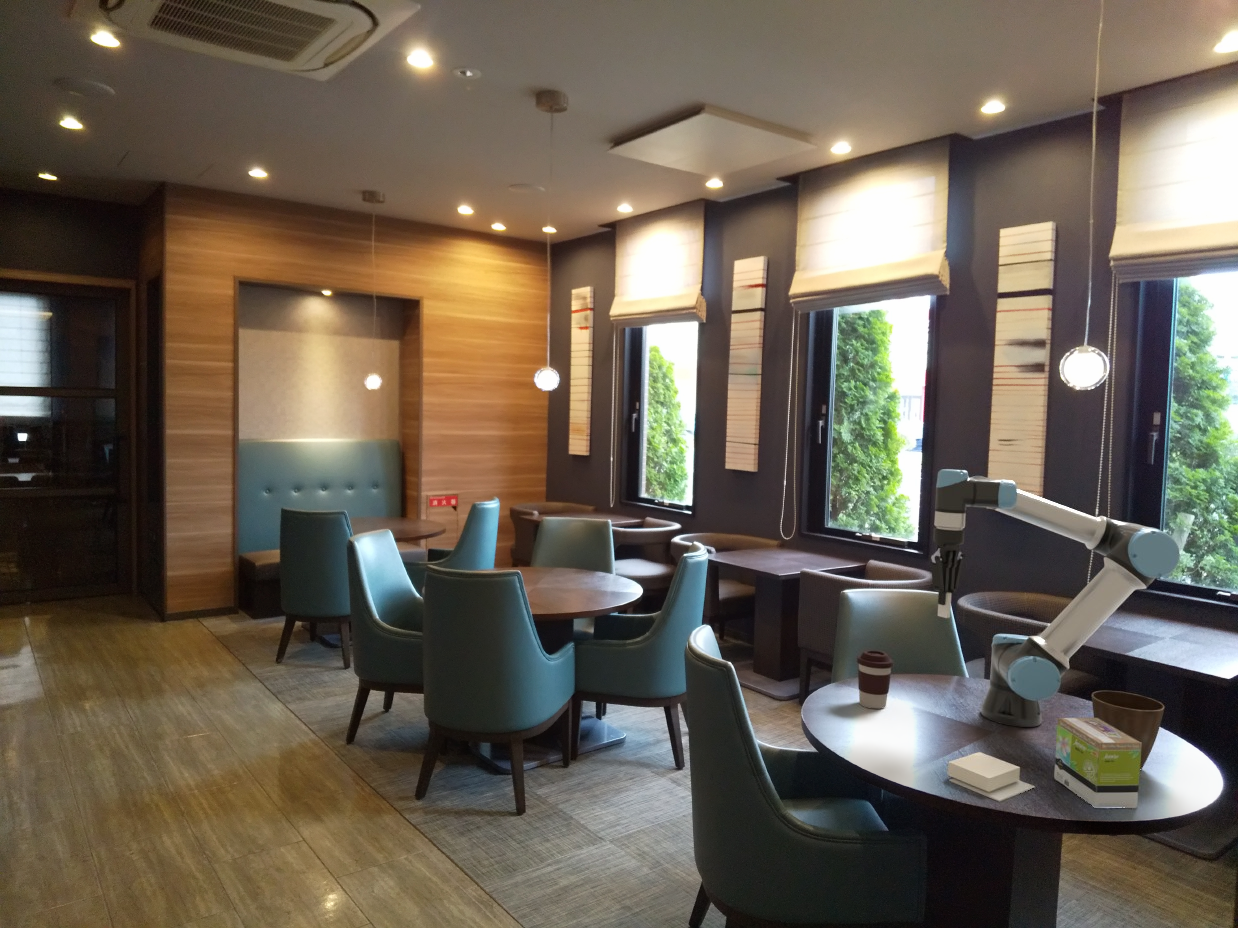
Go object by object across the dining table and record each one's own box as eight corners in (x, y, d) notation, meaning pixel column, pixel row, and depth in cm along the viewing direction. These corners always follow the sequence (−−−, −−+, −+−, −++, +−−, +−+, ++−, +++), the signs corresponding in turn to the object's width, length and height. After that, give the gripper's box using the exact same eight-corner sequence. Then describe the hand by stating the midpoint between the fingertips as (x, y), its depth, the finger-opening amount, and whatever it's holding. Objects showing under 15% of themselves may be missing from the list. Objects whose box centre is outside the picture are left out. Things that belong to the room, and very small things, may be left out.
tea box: (1051, 779, 193) (1056, 715, 192) (1093, 779, 194) (1098, 716, 193) (1094, 809, 178) (1099, 740, 177) (1139, 809, 179) (1144, 741, 178)
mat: (985, 768, 197) (985, 766, 197) (1035, 787, 188) (1035, 786, 188) (949, 780, 189) (949, 779, 189) (999, 801, 180) (999, 800, 180)
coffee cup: (892, 712, 234) (895, 659, 233) (855, 708, 236) (858, 655, 235) (888, 701, 244) (891, 649, 243) (853, 697, 246) (856, 646, 245)
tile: (979, 751, 198) (1020, 767, 189) (978, 765, 198) (1019, 781, 190) (948, 761, 191) (989, 778, 183) (947, 776, 191) (988, 793, 183)
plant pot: (1073, 757, 206) (1077, 693, 206) (1114, 750, 213) (1118, 687, 212) (1132, 782, 193) (1137, 713, 192) (1173, 773, 199) (1178, 706, 198)
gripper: (951, 525, 229) (946, 611, 230) (921, 527, 222) (916, 616, 223) (976, 528, 223) (971, 617, 224) (946, 530, 216) (941, 622, 217)
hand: (943, 616), depth 223 cm, fingers closed
